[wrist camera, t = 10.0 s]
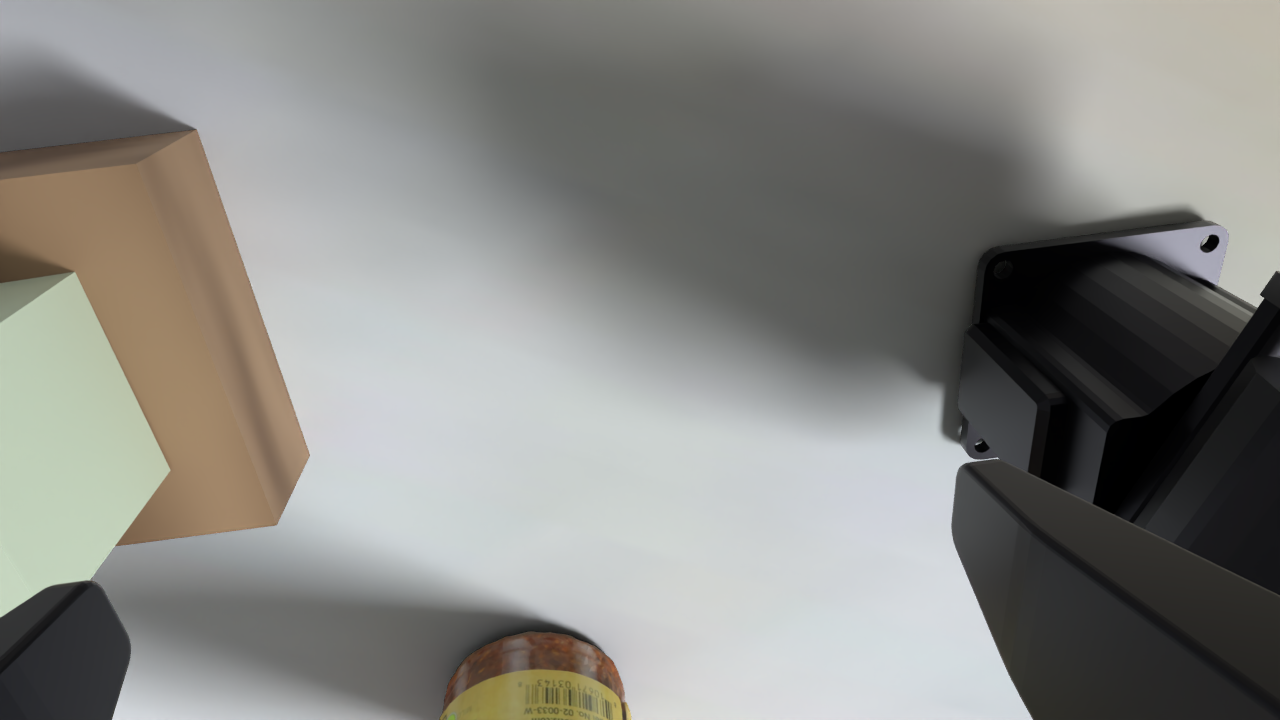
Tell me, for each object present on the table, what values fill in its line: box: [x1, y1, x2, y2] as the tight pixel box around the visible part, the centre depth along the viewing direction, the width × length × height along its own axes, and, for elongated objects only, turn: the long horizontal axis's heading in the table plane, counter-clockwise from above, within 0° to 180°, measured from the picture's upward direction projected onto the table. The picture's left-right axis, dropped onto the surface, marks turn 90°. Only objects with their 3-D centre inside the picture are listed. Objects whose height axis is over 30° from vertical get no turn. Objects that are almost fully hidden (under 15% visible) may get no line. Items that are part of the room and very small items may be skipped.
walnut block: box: [0, 130, 310, 546], centre depth 20 cm, size 9×9×4 cm
